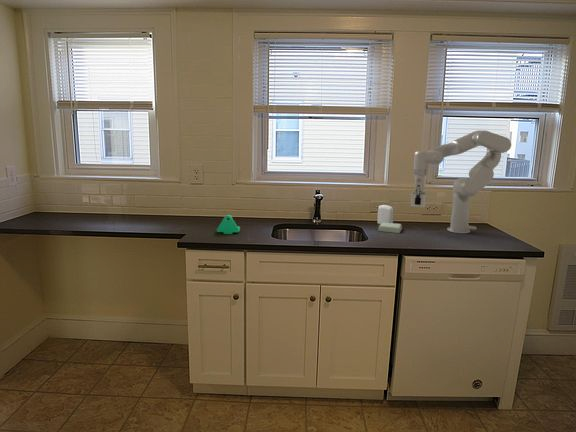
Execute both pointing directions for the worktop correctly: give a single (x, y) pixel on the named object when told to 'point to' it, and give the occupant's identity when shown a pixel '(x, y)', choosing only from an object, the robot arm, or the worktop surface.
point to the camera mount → (228, 226)
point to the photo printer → (385, 214)
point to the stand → (390, 227)
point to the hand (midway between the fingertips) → (418, 203)
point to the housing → (423, 199)
